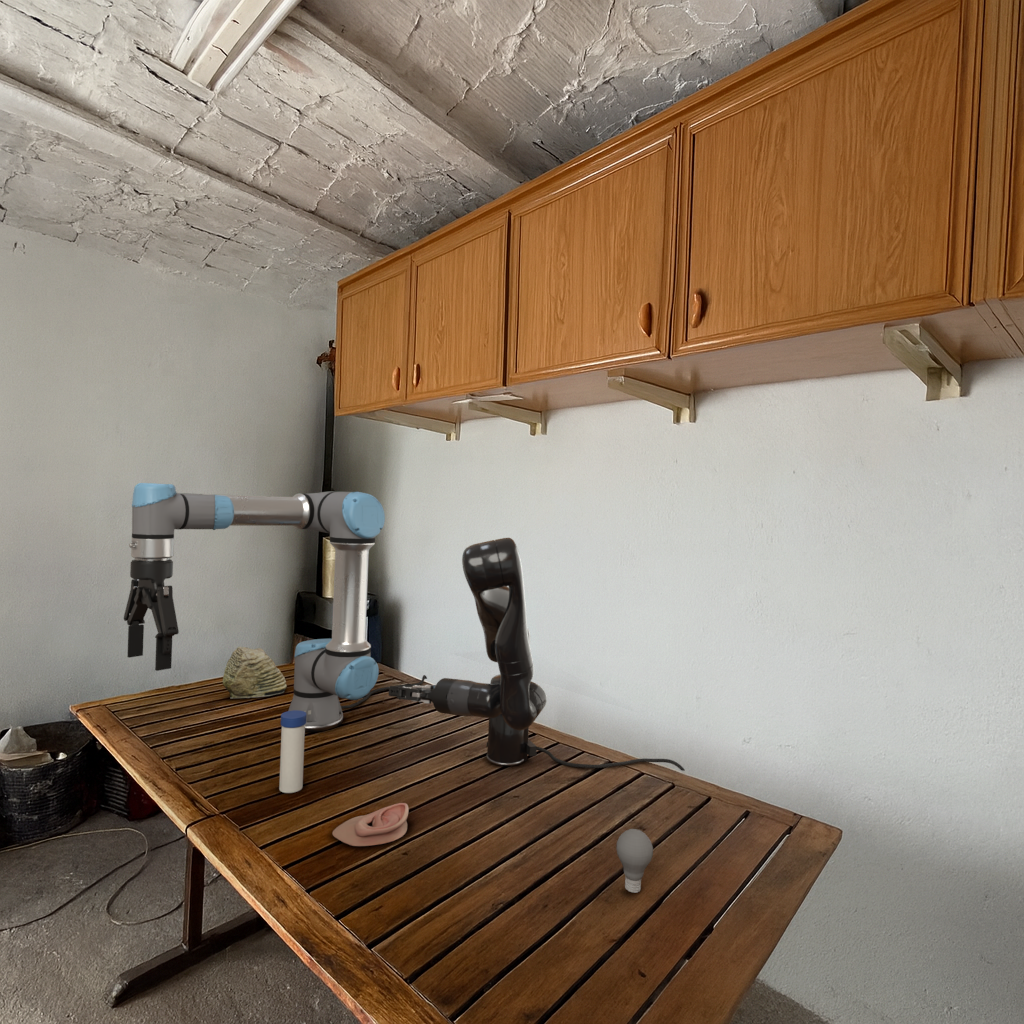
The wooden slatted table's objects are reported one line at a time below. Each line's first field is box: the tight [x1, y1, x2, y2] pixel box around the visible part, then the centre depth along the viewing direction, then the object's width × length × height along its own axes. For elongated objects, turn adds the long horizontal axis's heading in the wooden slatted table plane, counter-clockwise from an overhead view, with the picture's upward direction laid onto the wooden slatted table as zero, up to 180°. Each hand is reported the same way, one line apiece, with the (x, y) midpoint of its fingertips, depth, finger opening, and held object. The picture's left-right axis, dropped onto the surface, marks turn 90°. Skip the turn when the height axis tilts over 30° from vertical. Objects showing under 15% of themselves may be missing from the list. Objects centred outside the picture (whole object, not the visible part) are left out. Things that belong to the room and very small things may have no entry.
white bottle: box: [278, 725, 306, 794], centre depth 137 cm, size 5×5×16 cm
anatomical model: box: [332, 802, 410, 847], centre depth 121 cm, size 13×4×12 cm
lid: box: [280, 710, 306, 728], centre depth 137 cm, size 5×5×2 cm
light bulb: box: [615, 828, 654, 894], centre depth 106 cm, size 6×6×10 cm
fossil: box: [222, 646, 288, 699], centre depth 198 cm, size 9×18×15 cm, turn 132°
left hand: (148, 662), depth 129 cm, fingers open, 13 cm apart
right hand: (402, 690), depth 147 cm, fingers open, 8 cm apart
